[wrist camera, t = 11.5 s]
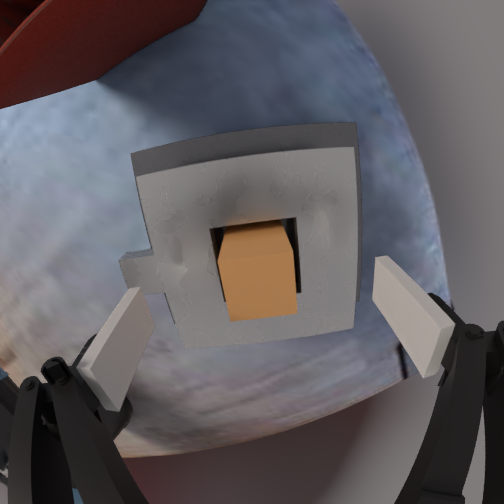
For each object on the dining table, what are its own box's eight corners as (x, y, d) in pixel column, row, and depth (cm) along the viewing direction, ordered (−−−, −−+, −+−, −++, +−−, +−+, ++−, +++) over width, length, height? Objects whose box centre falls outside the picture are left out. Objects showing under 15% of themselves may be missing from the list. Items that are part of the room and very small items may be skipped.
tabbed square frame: (353, 291, 29) (382, 338, 21) (178, 313, 30) (159, 365, 22) (348, 123, 22) (390, 117, 15) (138, 152, 23) (93, 159, 15)
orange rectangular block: (280, 250, 25) (297, 313, 16) (236, 256, 25) (230, 321, 16) (275, 207, 24) (292, 251, 14) (229, 214, 24) (217, 261, 14)
